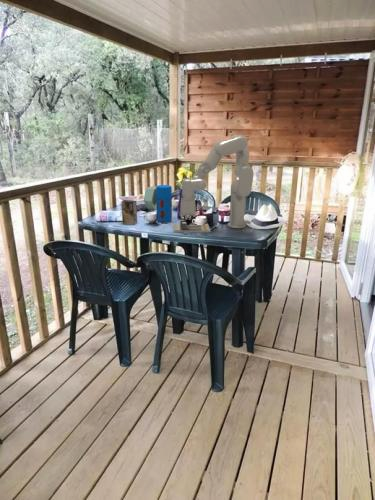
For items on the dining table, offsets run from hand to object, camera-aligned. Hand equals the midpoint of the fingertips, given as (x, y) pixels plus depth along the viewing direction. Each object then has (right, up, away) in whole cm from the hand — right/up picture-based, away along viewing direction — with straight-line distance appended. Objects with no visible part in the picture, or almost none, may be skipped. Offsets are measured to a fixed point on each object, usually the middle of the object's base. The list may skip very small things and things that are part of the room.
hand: (188, 224), depth 236 cm
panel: (+2, -3, +1) cm, 3 cm away
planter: (-27, +17, +53) cm, 62 cm away
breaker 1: (-3, +1, +6) cm, 7 cm away
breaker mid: (-4, -1, 0) cm, 4 cm away
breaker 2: (-3, -3, -5) cm, 7 cm away
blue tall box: (-17, +4, +19) cm, 26 cm away
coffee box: (-41, +2, +12) cm, 42 cm away
